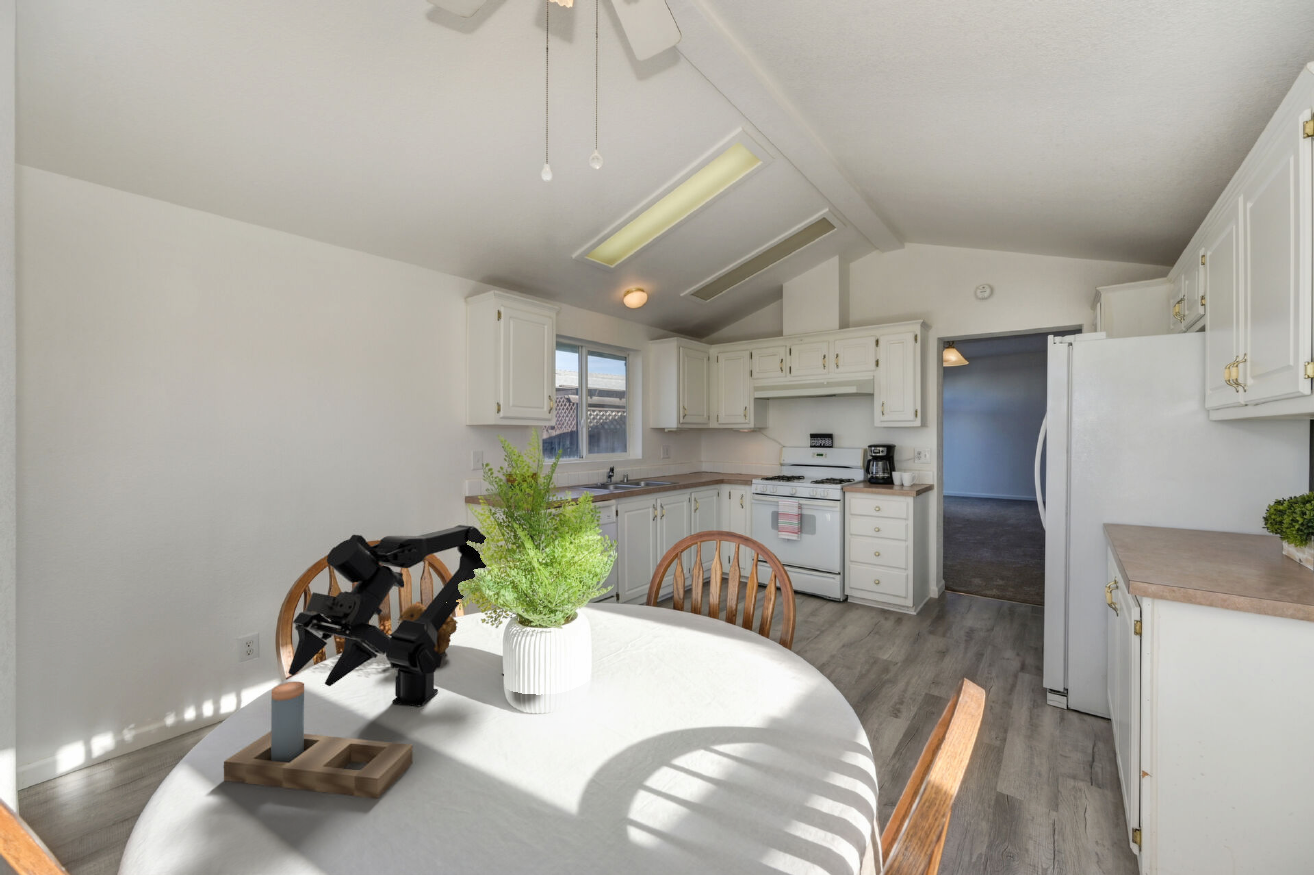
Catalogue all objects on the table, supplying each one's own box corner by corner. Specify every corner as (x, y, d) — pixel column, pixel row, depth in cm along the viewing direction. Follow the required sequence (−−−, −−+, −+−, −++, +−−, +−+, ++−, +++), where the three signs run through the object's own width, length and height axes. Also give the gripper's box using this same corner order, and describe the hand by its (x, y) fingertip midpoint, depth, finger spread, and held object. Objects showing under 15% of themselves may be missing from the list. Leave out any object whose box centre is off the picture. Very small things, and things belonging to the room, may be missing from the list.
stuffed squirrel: (388, 655, 135) (389, 601, 135) (448, 643, 143) (449, 592, 143) (397, 670, 127) (398, 612, 127) (460, 656, 135) (461, 602, 135)
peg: (306, 757, 93) (307, 680, 93) (300, 772, 89) (300, 691, 89) (275, 762, 91) (275, 684, 91) (267, 778, 87) (267, 696, 87)
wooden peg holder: (412, 763, 92) (412, 744, 92) (377, 798, 83) (377, 778, 83) (271, 747, 96) (271, 730, 96) (223, 780, 87) (223, 761, 87)
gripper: (303, 566, 102) (237, 648, 92) (376, 579, 94) (312, 669, 84) (343, 597, 109) (285, 676, 99) (413, 611, 101) (359, 698, 91)
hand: (308, 679), depth 93 cm, fingers open, 9 cm apart
